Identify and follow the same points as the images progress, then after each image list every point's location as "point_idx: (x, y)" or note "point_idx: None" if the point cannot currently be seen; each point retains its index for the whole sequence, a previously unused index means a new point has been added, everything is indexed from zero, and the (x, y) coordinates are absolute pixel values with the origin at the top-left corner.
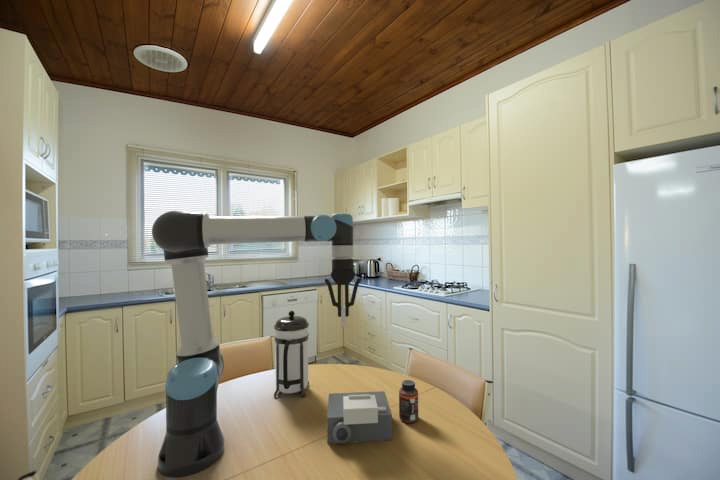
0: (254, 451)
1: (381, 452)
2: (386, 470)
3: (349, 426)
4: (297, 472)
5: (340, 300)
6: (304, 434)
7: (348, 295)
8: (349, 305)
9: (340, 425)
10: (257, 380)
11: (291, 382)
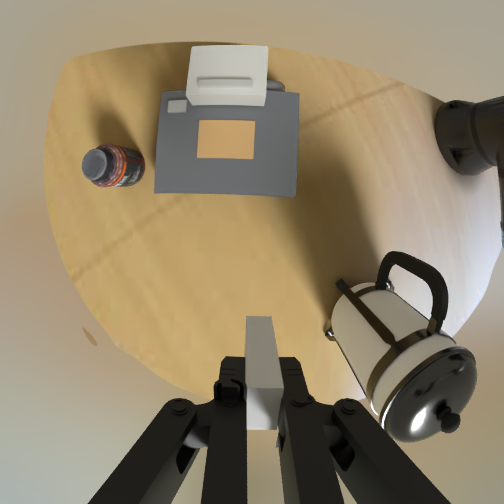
0: (399, 119)
1: None
2: None
3: None
4: (332, 60)
5: (297, 438)
6: (333, 141)
7: (205, 477)
8: (207, 408)
9: (271, 80)
10: None
11: (375, 287)
